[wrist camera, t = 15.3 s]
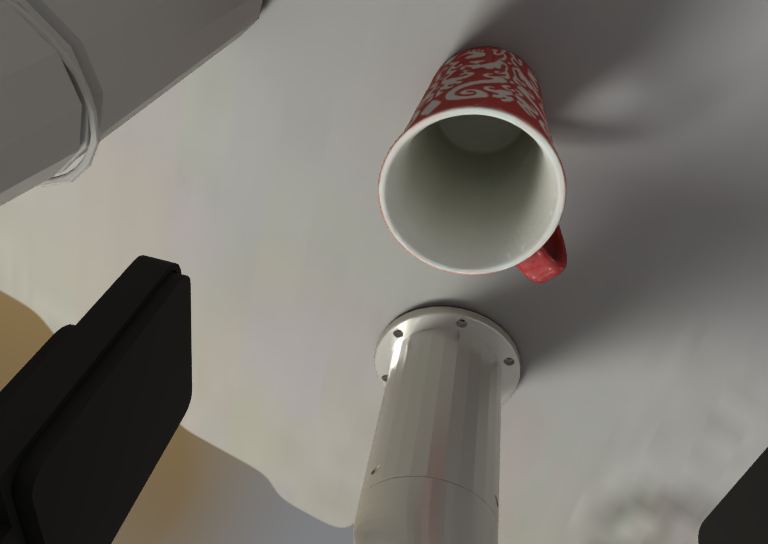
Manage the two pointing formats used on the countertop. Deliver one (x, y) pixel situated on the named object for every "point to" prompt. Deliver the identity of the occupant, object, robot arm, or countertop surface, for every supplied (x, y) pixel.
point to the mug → (478, 172)
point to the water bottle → (94, 73)
